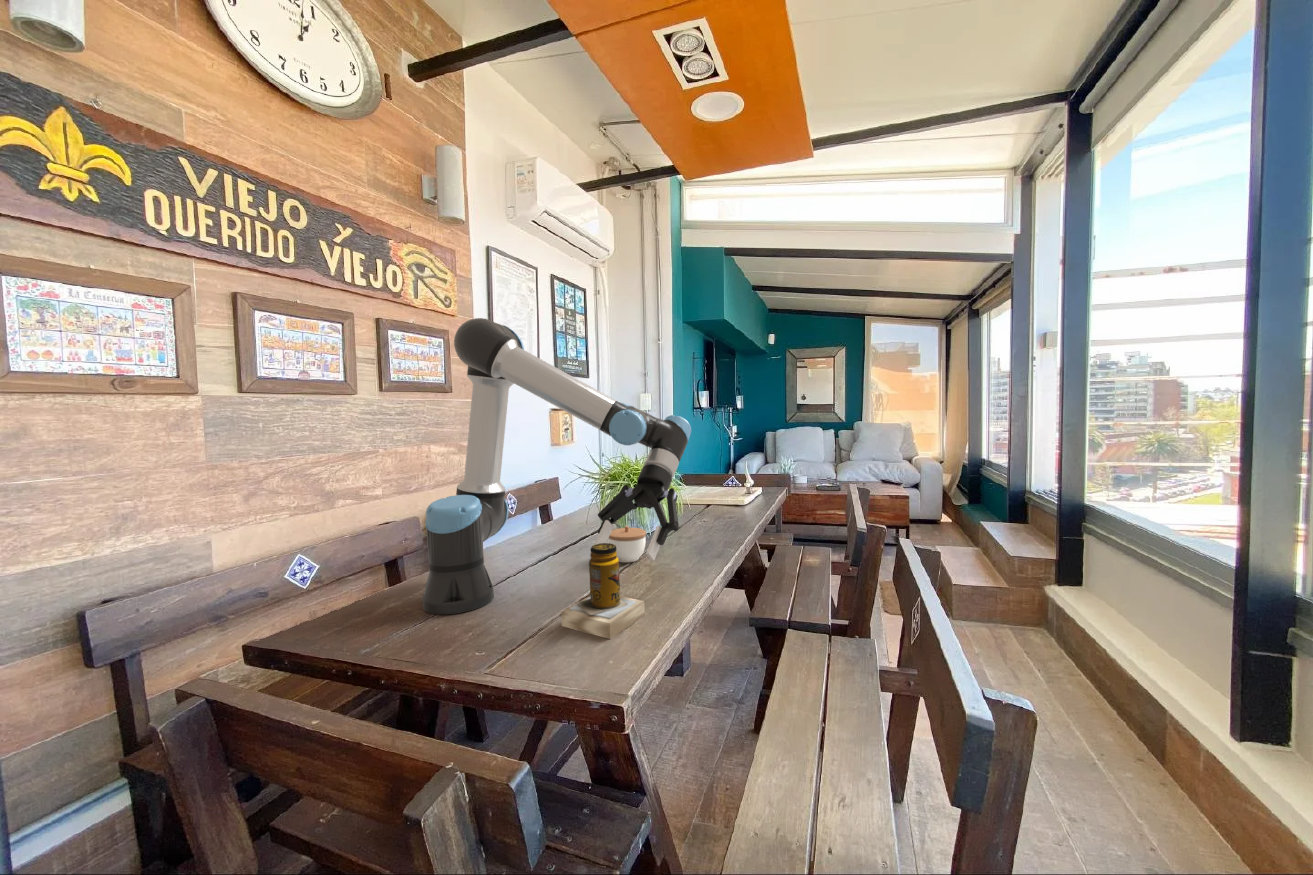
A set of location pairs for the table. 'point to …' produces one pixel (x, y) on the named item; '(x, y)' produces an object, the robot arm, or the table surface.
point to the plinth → (604, 618)
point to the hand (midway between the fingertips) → (623, 552)
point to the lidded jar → (628, 543)
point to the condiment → (603, 580)
